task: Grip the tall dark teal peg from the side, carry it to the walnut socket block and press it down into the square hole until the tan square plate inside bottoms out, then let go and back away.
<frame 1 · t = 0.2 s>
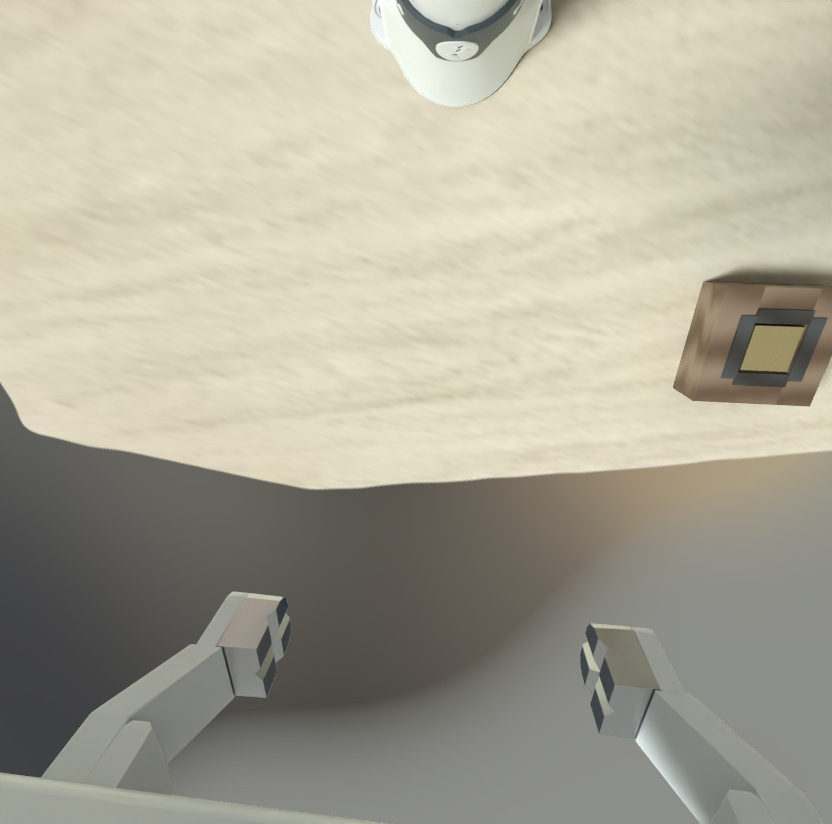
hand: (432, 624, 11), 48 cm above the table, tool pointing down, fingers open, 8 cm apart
socket block: (743, 339, 53), on the table
tan square plate: (768, 348, 48), point 5 cm above the table, slide at 4.0 cm
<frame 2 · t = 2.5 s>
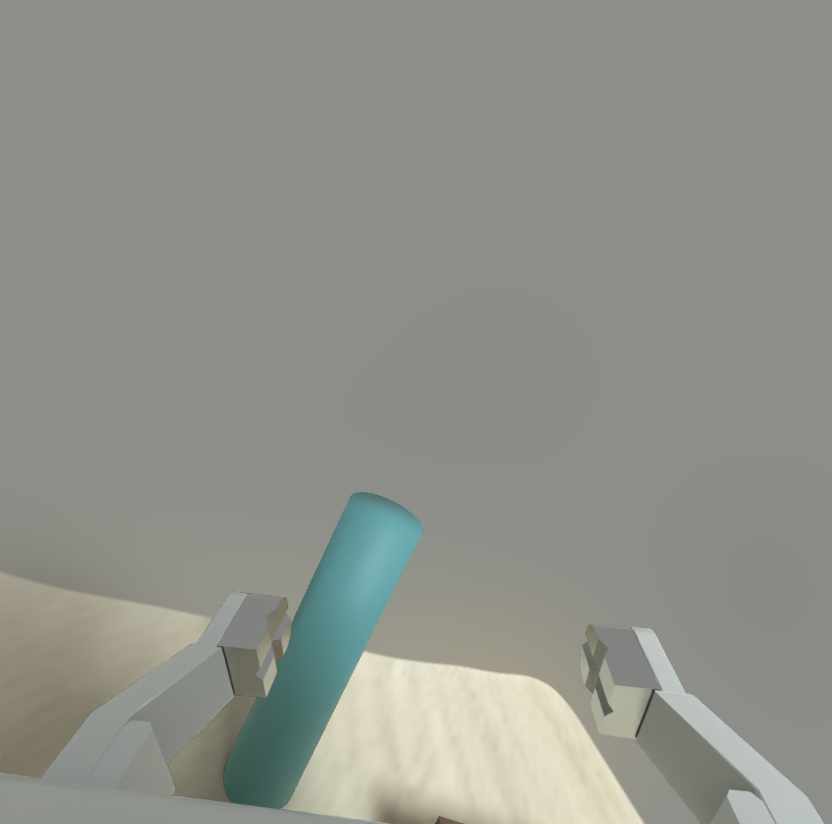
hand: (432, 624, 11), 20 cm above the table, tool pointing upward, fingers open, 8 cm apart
peg: (261, 773, 24), on the table
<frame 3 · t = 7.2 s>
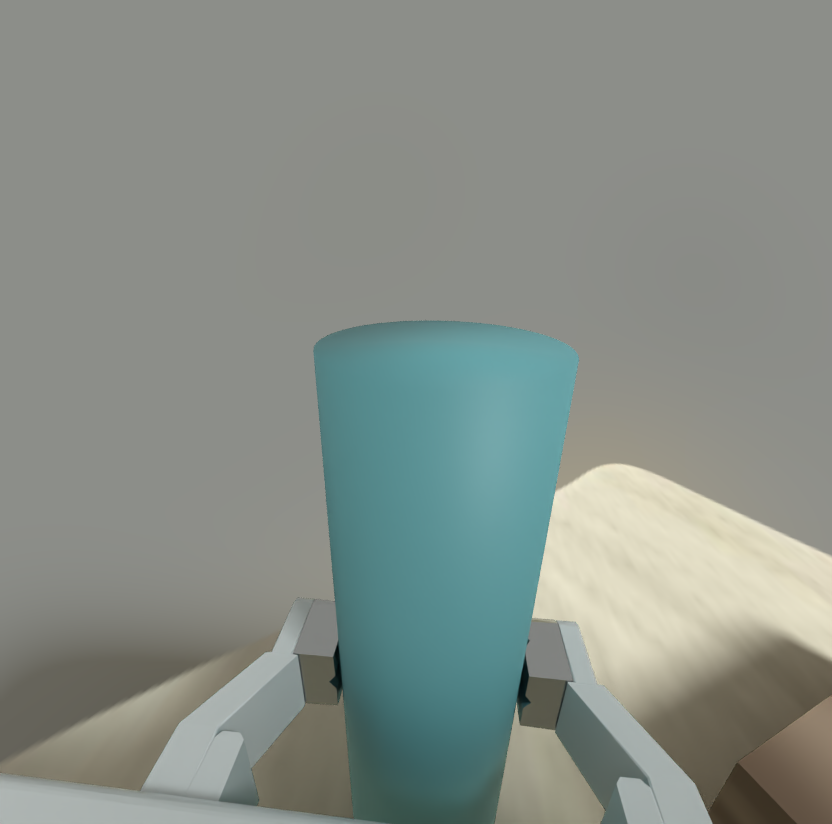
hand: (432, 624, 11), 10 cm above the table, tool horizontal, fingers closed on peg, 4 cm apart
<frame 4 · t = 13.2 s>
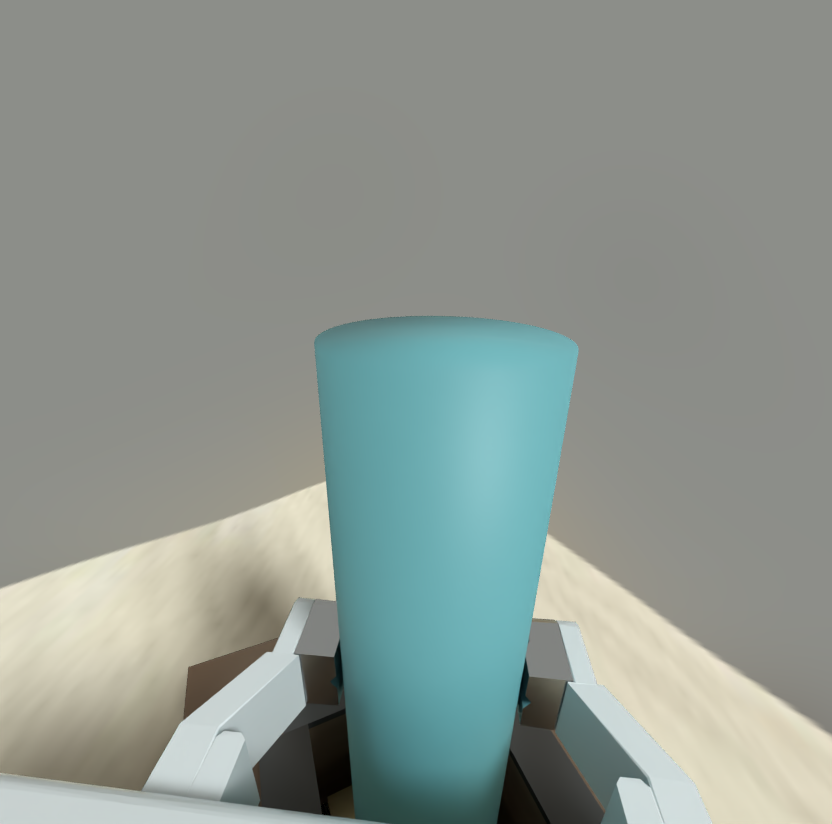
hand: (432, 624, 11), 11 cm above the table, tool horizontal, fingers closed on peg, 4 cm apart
when the fingers open (11 cm above the table, at t = 14.1 s): peg stays where it is, resting on tan square plate.
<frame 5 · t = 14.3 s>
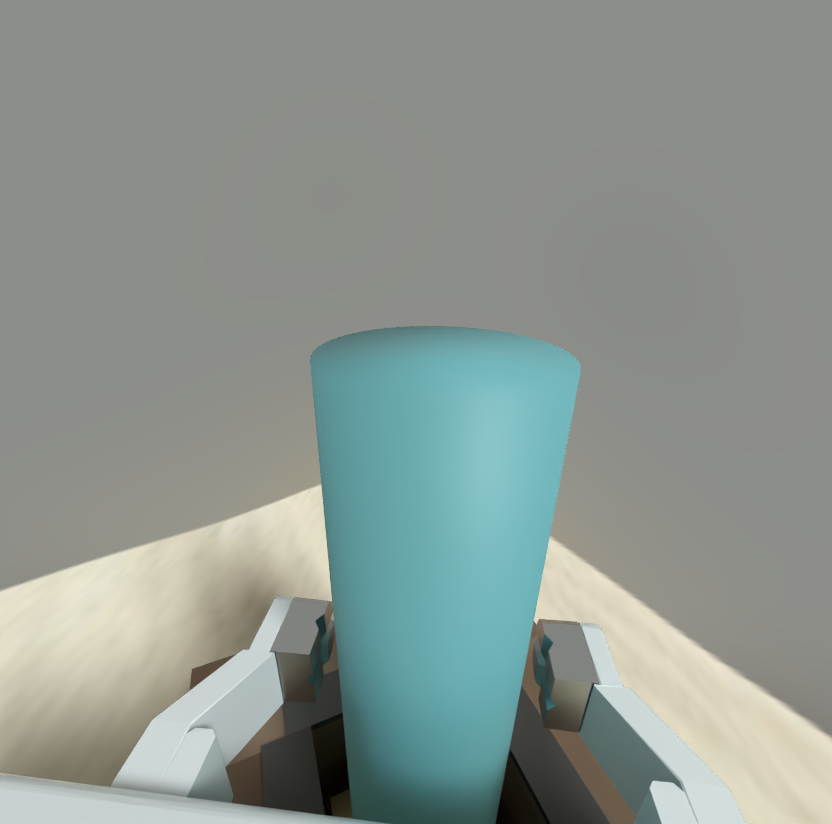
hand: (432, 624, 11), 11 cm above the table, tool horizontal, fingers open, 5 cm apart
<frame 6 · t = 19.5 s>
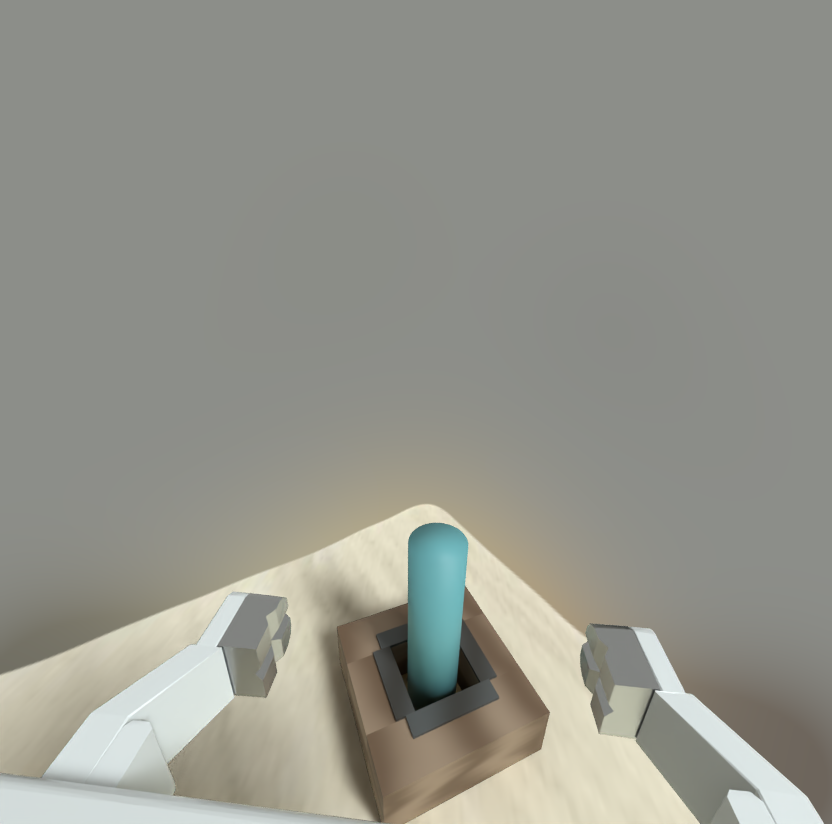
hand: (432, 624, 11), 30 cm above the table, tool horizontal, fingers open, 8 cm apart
peg: (431, 695, 37), point 1 cm above the table, touching tan square plate
socket block: (431, 701, 38), on the table
tan square plate: (431, 697, 37), point 1 cm above the table, slide at -0.1 cm, touching peg
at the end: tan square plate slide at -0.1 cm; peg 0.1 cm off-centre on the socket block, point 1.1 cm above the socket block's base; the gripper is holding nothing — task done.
